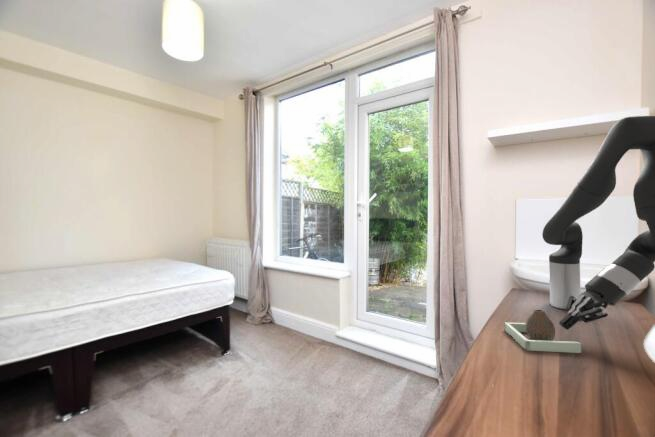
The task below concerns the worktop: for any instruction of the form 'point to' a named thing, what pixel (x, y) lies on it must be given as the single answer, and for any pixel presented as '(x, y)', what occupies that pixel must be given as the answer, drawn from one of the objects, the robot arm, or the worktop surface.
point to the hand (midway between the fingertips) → (562, 326)
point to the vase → (540, 326)
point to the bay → (539, 341)
